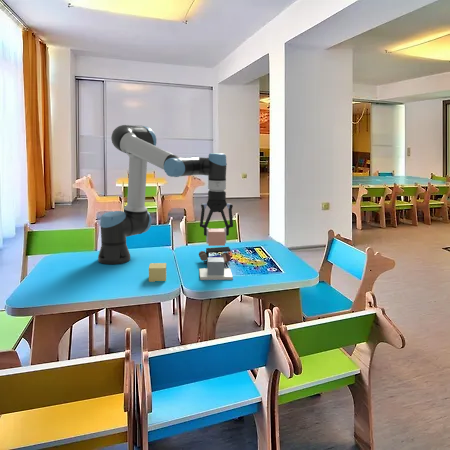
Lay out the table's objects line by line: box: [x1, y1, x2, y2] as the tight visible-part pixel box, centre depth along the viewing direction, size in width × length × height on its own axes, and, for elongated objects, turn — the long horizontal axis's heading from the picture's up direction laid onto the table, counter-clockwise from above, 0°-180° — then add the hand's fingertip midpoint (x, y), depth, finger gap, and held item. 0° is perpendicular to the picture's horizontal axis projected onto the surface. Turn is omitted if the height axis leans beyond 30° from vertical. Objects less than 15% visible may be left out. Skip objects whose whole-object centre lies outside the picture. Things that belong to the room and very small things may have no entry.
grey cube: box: [206, 256, 225, 275], centre depth 179 cm, size 7×7×6 cm
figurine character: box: [198, 246, 232, 265], centre depth 197 cm, size 7×8×15 cm
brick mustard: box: [148, 262, 167, 283], centre depth 173 cm, size 7×7×6 cm
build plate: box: [198, 267, 234, 281], centre depth 179 cm, size 14×12×1 cm
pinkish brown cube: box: [208, 227, 226, 247], centre depth 176 cm, size 7×7×6 cm
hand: (216, 242), depth 176 cm, fingers closed on pinkish brown cube, 7 cm apart
